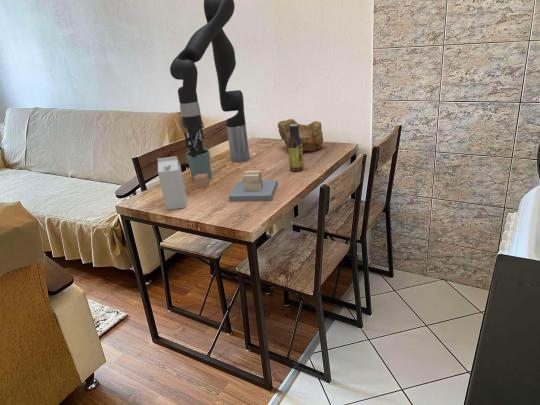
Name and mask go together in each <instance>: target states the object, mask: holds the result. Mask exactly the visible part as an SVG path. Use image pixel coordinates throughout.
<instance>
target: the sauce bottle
mask: <svg viewBox="0 0 540 405" xmlns="http://www.w3.org/2000/svg"><path fill="white" fill-rule="evenodd" d="M298 124H299V123H298ZM298 124H292V125H289V129H290V138H289V140H288V150H287V153H288V152H289V153H288V163H289V166H288V167H289V170H290V171H291V172H299V171H302V170H303V169H304V151H303V146H302V141H301V138H300V136H299V129H298V128H299V125H298Z"/></svg>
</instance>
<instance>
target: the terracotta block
mask: <svg viewBox="0 0 540 405" xmlns="http://www.w3.org/2000/svg"><path fill="white" fill-rule="evenodd" d="M209 180H210V179H208V174H197V175H196V176H195V177H194V180H193V182H194V188H195V189H196V190H200V189H201V190H204V189H205V190H206V189H207V188H208V187H209V186H210V181H209Z"/></svg>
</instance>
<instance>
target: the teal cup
mask: <svg viewBox="0 0 540 405" xmlns="http://www.w3.org/2000/svg"><path fill="white" fill-rule="evenodd" d="M196 153H197V157H191V153H190V150H188V151H187V152H186V153H185V157H186V160H187V163H188V167H189V171H190V173H191V178H192V180H193V181H194V177H195V176H196V175H197V174H208V179H209V180H210V179H211V178H212V169H211V162H210V160H211V158H210V156H211V155H210V150H209V149H208V148H203V151H198V148H196Z"/></svg>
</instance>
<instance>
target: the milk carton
mask: <svg viewBox="0 0 540 405" xmlns="http://www.w3.org/2000/svg"><path fill="white" fill-rule="evenodd" d="M182 171H183V170H182V166H181V163H180V160H179V159H178V156H169V157H160V158H159V157H158V158H157V175H158V180H159V183H160V188H161V193H162V197H163V203H164V208H165V210H167V211H168V209H170V210H177V209H185V208H186V205H187V201H188V200H187V199H188V198H187V192H186V188H185V183H184V182H185V181H184V177H183V172H182Z"/></svg>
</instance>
